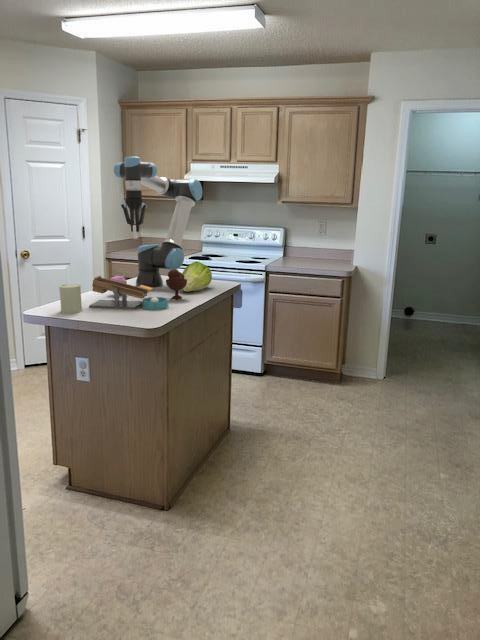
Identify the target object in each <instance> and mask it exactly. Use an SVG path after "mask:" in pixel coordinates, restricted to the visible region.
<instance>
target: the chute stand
mask: <svg viewBox="0 0 480 640" xmlns="http://www.w3.org/2000/svg"><path fill="white" fill-rule="evenodd" d="M113 296H114V298H113V299H98V300H96V301H95V302H92V303H91V304H89V305H88V308H91V309H114V310H116V309H117V310H136V309H138V308H139V307H140V306H143V304H142V300H128V295H124V294H122V295H121V297H122V298H121V299H122V300H120V295H119V289H118V288H117V287H115V288H114V293H113Z"/></svg>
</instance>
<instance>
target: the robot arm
mask: <svg viewBox="0 0 480 640" xmlns="http://www.w3.org/2000/svg"><path fill="white" fill-rule="evenodd" d="M113 172H114V175H115V177H117V178H121V179H125V181H124V182H125V189H126V190H125V201H124V203H122V204H120V206H121V208H122V210H123V213H124V217H125V221H126V223H127V225H129V226H130V232H132V237H133V238H132V239H133V240H137V239H139V234H138V233H139V232H140V225H143V224H144V219H145V214H146V209H147V208H148V205H147V204H146V203H144V201H143V200H142V199H143V198H142V193H143V192H142V186H144V187H147V188H148V189H151V190H153V191H155V192H156V193H157V194H159V195H161V196H163V197H165V198H168V199H171V200H175V201H176V205H175V208H174V212H173V214H172V216H171V217H172V218H171V221H170V225H169V229H168V231H167V235H166V237H165V240H163V241H162V243H161V246H159V243H157V244H156V243H155V244H154V243H153V244H146V245H139V246H138V247H137V265H138V273H137V277H136V280H135V286H136V287H139V286H141V285H143V286H147V287H151V288H159V287H162V286H163V285H164V282H163V277H162V276H161V272H160V269H163V270H165V269H166V270H169V271H170V270H172V269H176V270H178V269H180V267H182V265H183V263H184V260H185V253H184V250H183V246H182V242H183V239H184V235H185V231H186V228H187V224H188V220H189V217H190V214H191V210H192V208H193V207H195V205H196V202H197V201H200V200H201V199H202V197H203V186H202V184H201V182H200V181H199V180H198V179H196V178H167V177H163V176H162V177H160V176H157V173H158V168H157V166H156V164H155V163H154V162H150V161H142V160H141V158H140V157H139V156H126V157H125V158H124V162H123V161H121V162H116V163H115V164H114V167H113ZM140 208H141V211H140ZM128 209H129V210H128Z"/></svg>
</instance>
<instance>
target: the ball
mask: <svg viewBox="0 0 480 640" xmlns="http://www.w3.org/2000/svg"><path fill="white" fill-rule="evenodd" d="M153 297H154V298H152V299H151V300H150V302H159V300H158V299H157V298H155V297H156V296H153Z"/></svg>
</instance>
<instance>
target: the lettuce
mask: <svg viewBox="0 0 480 640" xmlns="http://www.w3.org/2000/svg"><path fill="white" fill-rule="evenodd" d="M181 273H182V274H183V275H184V279H187V284H186V286H185V287H184V288H183V289H182V290H183V291H184V292H192V291H193V292H195V291H203V290H204V289H206V288H207V287H208V286H209V285H210V284H211V283H212V279H213V276H212V270H211V269H210V267H208V265H206V264H204V263H202V262H200V261H198V260H196V261H194V262H193V261H192V262H191V263H189V264H188V265H187V266H186V267H185V268H184V270H183V271H182V272H181Z"/></svg>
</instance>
